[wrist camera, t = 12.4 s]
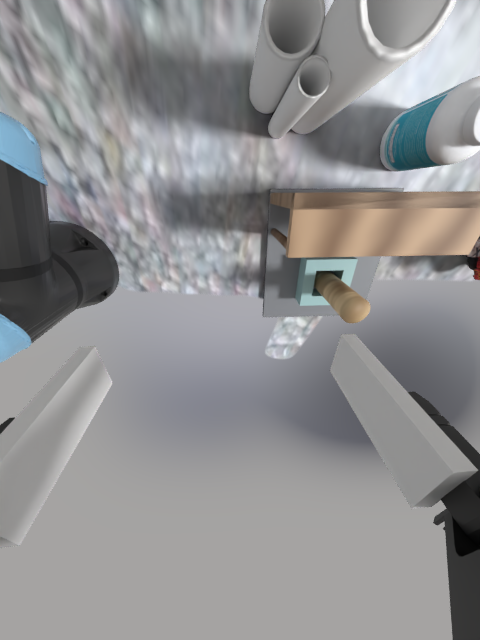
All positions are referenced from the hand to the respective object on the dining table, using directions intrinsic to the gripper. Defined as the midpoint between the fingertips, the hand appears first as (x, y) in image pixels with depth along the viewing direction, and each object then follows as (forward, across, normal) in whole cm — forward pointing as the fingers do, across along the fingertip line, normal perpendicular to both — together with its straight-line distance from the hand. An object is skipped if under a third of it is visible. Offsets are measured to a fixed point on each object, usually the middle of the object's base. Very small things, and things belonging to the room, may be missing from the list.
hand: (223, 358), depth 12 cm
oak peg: (+30, +19, -7) cm, 36 cm away
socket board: (+31, +19, -4) cm, 37 cm away
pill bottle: (+31, +28, +14) cm, 44 cm away
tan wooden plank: (+31, +19, +4) cm, 37 cm away
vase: (+32, +10, +18) cm, 38 cm away
